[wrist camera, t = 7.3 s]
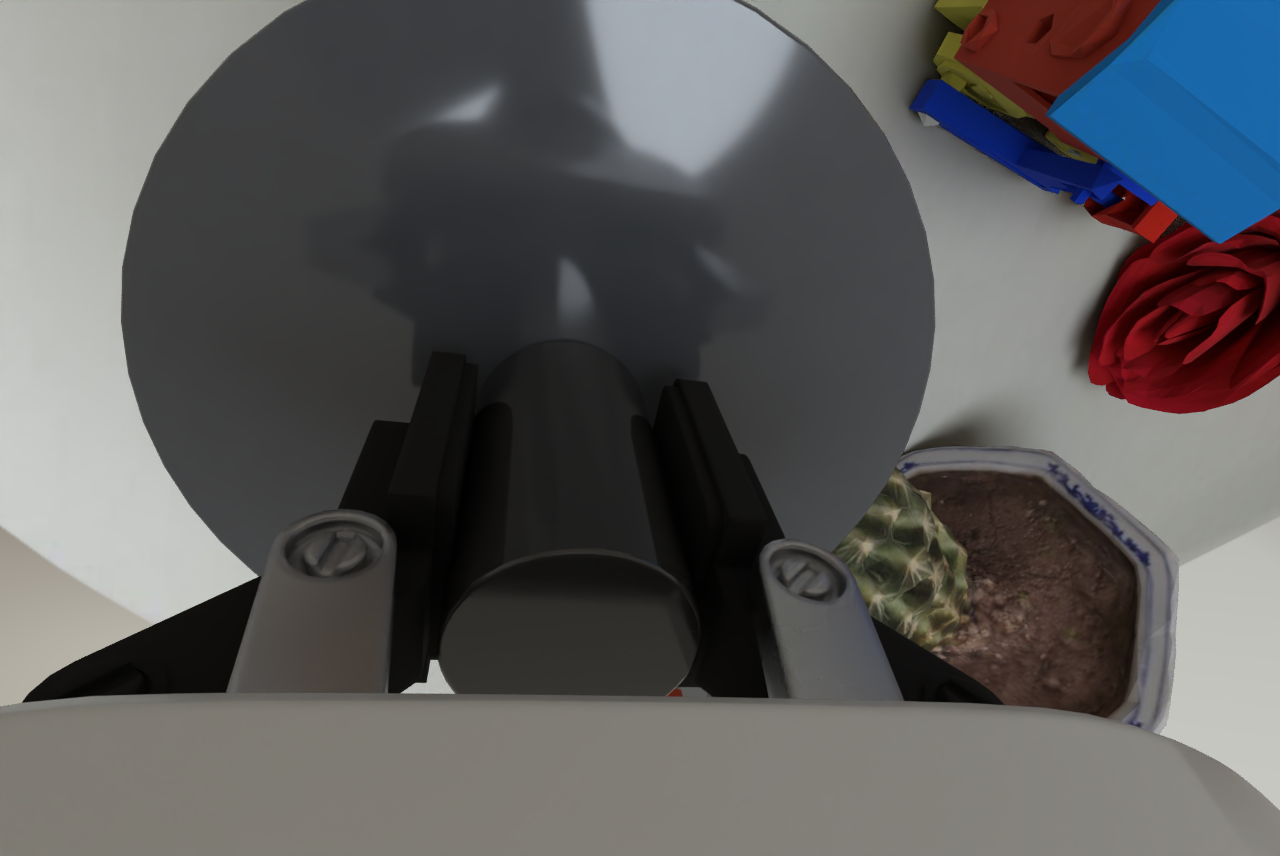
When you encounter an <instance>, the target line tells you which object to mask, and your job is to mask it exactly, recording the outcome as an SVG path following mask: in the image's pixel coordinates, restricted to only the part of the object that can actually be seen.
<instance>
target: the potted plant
mask: <svg viewBox="0 0 1280 856" xmlns="http://www.w3.org/2000/svg"><path fill="white" fill-rule="evenodd" d="M831 553H833V554H834V555H836V556H837V557H839V558H840V559H841V560H842V561H843V562H844V563H845V564H846V565H847V566H848V567H849V569H850V571H851V572H852V574H853V576H854V577H855V579H856V582H857V584H858V587H859V589H860V592H861V594H862V597H863V599H864V602H865V604H866V607H867V609H868V612H869V614H870V616H872V617H873V618H875V619H877V620H878V621H880V622H882V623H883V624H885V625H886V626H888V627H890V628H891V629H893V630H895V631H896V632H898V633H900V634H901V635H903V636H904V637H906V638H908V639H909V640H911V641H913V642H914V643H916V644H918V645H919V646H921V647H923V648H924V649H926V650H927V651H929V652H931V653H932V654H934V655H936V656H937V657H939V658H941V659H942V660H944V661H945V662H947V663H949V664H950V665H952V666H954V667H955V668H957V669H959V670H960V671H962V672H963V673H965V674H967V675H968V676H970V677H972V678H973V679H975V680H977V681H978V682H979V683H981V684H982V685H983V686H985V687H986V688H988V689H989V690H990V691H992V692H993V693H994V694H995V695H996V696H997V697H998V698H999V699H1000V700H1001V701H1002V702H1003V703H1004V704H1005V705H1008V706H1024V707H1041V708H1050V709H1057V710H1064V711H1071V712H1078V713H1085V714H1090V715H1094V716H1098V717H1102V718H1106V719H1110V720H1114V721H1119V722H1123V723H1127V724H1130V725H1134V726H1136V727H1139V728H1142V729H1145V730H1148V731H1150V732H1153V733H1156V734H1159V735H1160V733H1161V732H1162V730H1163V729H1164V727H1165V726H1166V723H1167V720H1168V715H1169V707H1170V700H1171V693H1172V686H1173V677H1174V668H1175V658H1176V620H1177V604H1178V590H1179V563H1178V558H1177V557H1176V555H1175V554H1174V553H1173V552H1172V550H1171V549H1170V548H1169V547H1168V546H1167V545H1166V544H1165V543H1164V542H1163V541H1162V540H1161V539H1160V538H1158V537H1157V536H1156V535H1155V534H1154V533H1153V532H1152V531H1150V530H1149V529H1148V528H1147V527H1146V526H1144V525H1143V524H1142V523H1141V522H1140V521H1138V520H1137V519H1136V518H1135V517H1134V516H1133V515H1131V514H1130V513H1129V512H1128V511H1126V510H1125V509H1124V508H1123V507H1121V506H1120V505H1119V504H1118V503H1116V502H1115V501H1114V500H1112V499H1111V498H1110V497H1108V496H1106V495H1105V494H1103V493H1102V492H1100V491H1099V490H1097V489H1095V488H1094V487H1093V486H1092V485H1091V483H1090V482H1089V481H1088V480H1087V479H1086V478H1085V477H1084V476H1083V475H1082V474H1081V473H1079V472H1078V471H1077V470H1076V469H1075V468H1074V467H1072V466H1071V465H1070V464H1068V463H1067V462H1066V461H1064V460H1063V459H1062V458H1060V457H1059V456H1057V455H1056V454H1055V453H1053V452H1051V451H1046V450H1037V449H1029V448H1021V447H1015V446H1001V447H969V446H953V447H936V448H929V449H923V450H917V451H912V452H910V453H908V454H905V455H903V456H902V457H901V458H900V459H899V461H898V463H897V465H896V467H895V469H894V470H893V472H892V474H891V476H890V478H889V480H888V482H887V483H886V485H885V487H884V488H883V490H882V491H881V493H880V494H879V495H878V497H877V498H876V500H875V501H874V502H873V504H872V505H871V507H870V508H869V510H868V511H867V512H866V514H865V515H864V517H863V518H862V519H861V520H860V522H859V523H858V524H857V525H856V526H855V527H854V528H853V530H852V531H851V532H850V533H849V534H848V535H847V536H846V538H845V539H844V540H843V541H842V542H841V543H840V544H839V545H838V547H837V548H836V549H835V550H834V551H832V552H831Z"/></svg>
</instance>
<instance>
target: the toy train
mask: <svg viewBox="0 0 1280 856" xmlns="http://www.w3.org/2000/svg"><path fill="white" fill-rule="evenodd" d="M934 8H935V9H937V10H938V11H939V12H940V13H942V14H943V15H944V16H945V17H947V18H948V19H949V20H950V21H952V22H953V23H954V24H955V25H957V26H958V27H959V28H961V29H962V30H963V31H965V32H964V34H963V35H961V34H957V33H952V32H948V34H947V36H946V37H945V39H944V41H943V43H942V45H941V47H940V48H939V50H938V52H937V54H936V56H935V58H934V59H933V62H934V63H935V64H936V65H937V67H938V68H937V70H938V72H939V73H940V75H941V76H942V78H941V80H927V81H926V83H925V85H924V86H923V88H922V89H921V91H920V92H919V94H918V95H917V97H916V98H915V100H914V101H913V103H912V105H911V106H910V109H912V110H914V111H915V112H917V113H918V114H919V116H920V118H921V121H922V123H923V126H938V125H939V126H941V127H943V128H944V129H946V130H947V131H949V132H951V133H952V134H954V135H955V136H957V137H959V138H960V139H962V140H964V141H965V142H967V143H968V144H970V145H972V146H973V147H975V148H976V149H978V150H980V151H981V152H983V153H984V154H986V155H988V156H989V157H991V158H993V159H994V160H996V161H997V162H999V163H1001V164H1002V165H1004V166H1005V167H1007V168H1009V169H1010V170H1012V171H1013V172H1015V173H1017V174H1018V175H1020V176H1022V177H1023V178H1025V179H1026V180H1028V181H1030V182H1031V183H1033V184H1034V185H1036V186H1038V187H1039V188H1041V189H1042V190H1045V191H1049V192H1052V193H1056V194H1058V193H1059V192H1060V190H1062V191H1066V192H1070V193H1073V195H1072V196H1071V197H1070V199H1071V200H1072V201H1073V202H1074V203H1076V204H1083V203H1084V202H1085V201H1086V202H1085V205H1084V207H1085V209H1086V210H1087V211H1088V212H1089V214H1090V215H1091V216H1092V217H1094V218H1095V219H1097V220H1098V221H1100V222H1101V223H1103V224H1107V225H1110V226H1114V227H1118V228H1121V229H1124V230H1127V231H1130V232H1133V233H1135V234H1138V235H1141V236H1143V237H1144V238H1146V239H1147V240H1148V241H1150V242H1152V243H1154V242H1155V241H1156V240H1157V239H1158V238H1159V236H1160V235H1161V234H1162V233H1163V232H1164V231H1165V230H1166V228H1167V227H1168V226H1169V225H1170V224H1171V223H1172V222H1173V221H1174V219H1175V218H1176V217H1177V216H1178V215H1179V216H1180V217H1181V218H1183V219H1184V220H1185V221H1187V222H1188V223H1189V224H1191V225H1192V226H1193V227H1195V228H1196V229H1197V230H1199V231H1200V232H1201V233H1203V234H1204V235H1205V236H1207V237H1208V238H1209V239H1211V240H1212V241H1213V242H1215V243H1218V244H1221V243H1223V242H1224V241H1226V240H1228V239H1229V238H1231V237H1233V236H1234V235H1236V234H1238V233H1240V232H1241V231H1243V230H1245V229H1246V228H1248V227H1250V226H1251V225H1253V224H1255V223H1256V222H1258V221H1260V220H1262V219H1263V218H1265V217H1267V216H1268V215H1270V214H1272V213H1273V212H1275V211H1277V210H1278V209H1280V0H938V2H937V3H936V5H935V6H934ZM962 93H963V94H965V95H967V96H969V97H970V98H972V99H974V100H976V101H977V102H979V103H981V104H983V105H984V106H986V107H988V108H989V109H992V110H995V111H998V112H1001V113H1003V114H1006V115H1009V116H1012V117H1015V118H1022V117H1030V118H1034V119H1036V120H1038V121H1039V122H1040V123H1042V124H1043V125H1044V126H1046V127H1047V128H1048V129H1049V130H1048V132H1047V133H1046V135H1045V136H1046V138H1047V139H1048V140H1049V141H1050V142H1051V143H1053V144H1054V145H1055V146H1056V147H1057V148H1058V149H1059V150H1060V151H1061V152H1063V153H1065V154H1066V155H1068V156H1070V157H1071V158H1067V157H1063V156H1060V155H1058V154H1056V153H1055V152H1053V151H1052V150H1050V149H1049V148H1047V147H1045V146H1044V145H1042V144H1041V143H1039V142H1037V141H1036V140H1034V139H1033V138H1031V137H1029V136H1028V135H1026V134H1025V133H1023V132H1021V131H1020V130H1018V129H1017V128H1015V127H1014V126H1012V125H1010V124H1009V123H1007V122H1006V121H1004V120H1002V119H1001V118H999V117H998V116H996V115H994V114H993V113H991V112H990V111H988V110H986V109H985V108H983V107H982V106H980V105H979V104H977V103H975V102H974V101H972V100H971V99H969V98H968V97H966V96H965V95H963V94H962ZM1072 158H1073V159H1072ZM1125 196H1126V197H1125ZM1123 197H1125V200H1124V199H1122V198H1123Z"/></svg>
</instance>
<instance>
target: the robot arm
mask: <svg viewBox="0 0 1280 856" xmlns="http://www.w3.org/2000/svg"><path fill="white" fill-rule="evenodd" d="M477 375H478V364H472V363H466V354H458V353H449V352H440V351H433V352H432V355H431V358H430V361H429V364H428V367H427V370H426V373H425V377H424V380H423V383H422V386H421V389H420V392H419V395H418V399H417V402H416V405H415V408H414V411H413V414H412V417H411V421H410V423H406V422H395V421H384V420H375V421H374V422H373V424H372V426H371V429H370V431H369V434H368V436H367V438H366V441H365V443H364V446H363V448H362V451H361V453H360V456H359V458H358V461H357V463H356V465H355V468H354V470H353V473H352V475H351V478H350V480H349V483H348V485H347V487H346V490H345V492H344V495H343V497H342V500H341V502H340V505H339V507H338V509H335V510H325V511H321V512H317V513H314V514H310V515H307V516H304V517H302V518H300V519H298V520H296V521H295V522H293V523H291V524H289V525H288V526H287V527H286V528H285V529H283V530H282V531H281V532H280V533H279V534H278V535H277V537H276V539H275V540H274V542H273V544H272V546H271V548H270V551H269V554H268V558H267V561H266V564H265V567H264V571H263V574H262V576H259V577H257V578H255V579H253V580H251V581H248V582H246V583H244V584H242V585H240V586H238V587H235V588H233V589H231V590H229V591H227V592H225V593H222V594H220V595H218V596H216V597H214V598H212V599H209V600H207V601H205V602H203V603H201V604H199V605H196V606H194V607H192V608H190V609H188V610H185V611H183V612H181V613H179V614H177V615H175V616H172V617H170V618H168V619H166V620H164V621H162V622H159V623H157V624H155V625H153V626H151V627H149V628H146V629H144V630H142V631H140V632H138V633H136V634H133V635H131V636H129V637H127V638H125V639H123V640H120V641H118V642H116V643H114V644H112V645H109V646H107V647H105V648H103V649H101V650H99V651H96V652H94V653H92V654H90V655H88V656H85V657H83V658H81V659H79V660H77V661H75V662H73V663H71V664H69V665H68V666H66V667H64V668H62V669H61V670H59V671H57V672H55V673H54V674H52V675H50V676H49V677H48V678H46V679H45V680H44V681H43V682H42V683H40V684H39V685H38V686H37V687H36V688H35V689H33V690H32V691H31V692H30V693H29V694H28V695H27V696H26V698H25V699H24V700H23V702H22V703H19V704H13V705H7V706H1V707H0V856H1280V810H1278V809H1277V808H1276V807H1275V806H1274V805H1273V804H1272V803H1271V802H1270V801H1269V800H1268V799H1267V798H1266V797H1265V796H1264V795H1263V794H1261V793H1260V792H1259V791H1258V790H1257V789H1256V788H1254V787H1253V786H1252V785H1251V784H1250V783H1248V782H1247V781H1246V780H1245V779H1244V778H1242V777H1241V776H1240V775H1239V774H1237V773H1236V772H1234V771H1233V770H1232V769H1230V768H1228V767H1227V766H1225V765H1224V764H1222V763H1221V762H1219V761H1217V760H1215V759H1213V758H1211V757H1209V756H1207V755H1205V754H1204V753H1202V752H1199V751H1197V750H1196V749H1193V748H1191V747H1189V746H1187V745H1185V744H1182V743H1180V742H1178V741H1176V740H1173V739H1170V738H1167V737H1165V736H1161V735H1159V734H1156V733H1153V732H1150V731H1148V730H1145V729H1142V728H1139V727H1136V726H1134V725H1130V724H1127V723H1123V722H1119V721H1114V720H1110V719H1106V718H1102V717H1098V716H1094V715H1090V714H1085V713H1078V712H1071V711H1064V710H1057V709H1050V708H1041V707H1024V706H1008V705H1005V704H1004V703H1003V702H1002V701H1001V700H1000V699H999V698H998V697H997V696H996V695H995V694H994V693H993V692H992V691H990V690H989V689H988V688H986V687H985V686H983V685H982V684H981V683H979V682H978V681H977V680H975V679H973V678H972V677H970V676H968V675H967V674H965V673H963V672H962V671H960V670H959V669H957V668H955V667H954V666H952V665H950V664H949V663H947V662H945V661H944V660H942V659H941V658H939V657H937V656H936V655H934V654H932V653H931V652H929V651H927V650H926V649H924V648H923V647H921V646H919V645H918V644H916V643H914V642H913V641H911V640H909V639H908V638H906V637H904V636H903V635H901V634H900V633H898V632H896V631H895V630H893V629H891V628H890V627H888V626H886V625H885V624H883V623H882V622H880V621H878V620H877V619H875V618H873V617H872V616H870V614H869V612H868V609H867V607H866V604H865V602H864V599H863V597H862V594H861V592H860V589H859V587H858V584H857V582H856V579H855V577H854V576H853V574H852V572H851V571H850V569H849V567H848V566H847V565H846V564H845V563H844V562H843V561H842V560H841V559H840V558H839V557H837V556H836V555H834V554H833V553H831V552H830V551H828V550H827V549H825V548H823V547H821V546H818V545H816V544H814V543H811V542H807V541H803V540H799V539H786V538H785V536H784V533H783V531H782V529H781V527H780V525H779V522H778V520H777V518H776V516H775V514H774V512H773V509H772V507H771V505H770V503H769V501H768V499H767V496H766V494H765V492H764V490H763V488H762V485H761V483H760V481H759V479H758V477H757V475H756V472H755V470H754V468H753V466H752V464H751V461H750V460H749V458H748V457H747V455H745V454H739V453H738V450H737V448H736V446H735V444H734V441H733V439H732V437H731V434H730V432H729V430H728V428H727V425H726V423H725V421H724V419H723V416H722V414H721V412H720V410H719V407H718V405H717V403H716V400H715V398H714V396H713V394H712V391H711V389H710V387H709V385H708V383H707V382H702V381H693V380H684V379H676V380H675V382H674V384H673V386H668V385H665V386H664V387H663V389H662V393H661V396H660V401H659V405H658V409H657V414H656V418H655V422H654V426H653V434H654V438H655V442H656V446H657V450H658V453H659V457H660V461H661V465H662V469H663V472H664V476H665V480H666V484H667V488H668V491H669V495H670V499H671V503H672V507H673V511H674V514H675V518H676V522H677V526H678V530H679V533H680V537H681V541H682V545H683V549H684V552H685V556H686V560H687V564H688V568H689V572H690V575H691V579H692V583H693V587H694V591H695V594H696V598H697V602H698V606H699V610H700V613H701V618H702V626H703V632H702V642H701V646H700V650H699V654H698V656H697V658H696V661H695V663H694V665H693V667H692V668H691V670H690V671H689V673H688V675H687V676H686V677H685V678H684V680H683V681H682V682H681V683H680V684H679V685H678V686H677V687H700V688H702V689H703V690H704V691H706V692H707V693H708V695H707V697H666V696H595V695H519V694H402V693H401V692H403V691H404V690H405V689H407V688H408V687H410V686H411V685H413V684H414V683H426V682H427V676H428V671H429V665H430V660H438V658H437V649H436V642H437V635H438V628H439V622H440V616H441V610H442V604H443V598H444V592H445V586H446V580H447V578H448V575H449V569H450V563H451V557H452V551H453V545H454V539H455V533H456V527H457V521H458V514H459V508H460V502H461V496H462V490H463V484H464V478H465V472H466V466H467V460H468V454H469V448H470V442H471V435H472V429H473V423H474V416H475V402H476V388H477Z"/></svg>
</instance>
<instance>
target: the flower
mask: <svg viewBox="0 0 1280 856" xmlns="http://www.w3.org/2000/svg"><path fill="white" fill-rule="evenodd" d="M1088 374H1089V378H1090V382H1091V383H1093V384H1095V385H1102V386H1103V385H1106V391H1107V392H1108V393H1109V395H1111V396H1114V397H1116V398H1119V399H1126V400H1127V401H1128V403H1130V404H1133V405H1136V406H1139V407H1142V408H1147V409H1152V410H1157V411H1162V412H1169V413H1177V414H1182V413H1193V412H1203V411H1206V410H1208V409H1213V408H1217V407H1220V406H1224V405H1228V404H1231V403H1234V402H1236V401H1238V400H1240V399H1243V398H1245V397H1247V396H1249V395H1250V394H1252V393H1254V392H1255V391H1257V390H1258V389H1260V388H1262V387H1263V386H1265V385H1266V384H1268V383H1269V382H1271V381H1272V380H1274V379H1275V378H1276V377H1278V376H1279V375H1280V209H1278V210H1277V211H1275V212H1273V213H1272V214H1270V215H1268V216H1267V217H1265V218H1263V219H1262V220H1260V221H1258V222H1256V223H1255V224H1253V225H1251V226H1250V227H1248V228H1246V229H1245V230H1243V231H1241V232H1240V233H1238V234H1236V235H1234V236H1233V237H1231V238H1229V239H1228V240H1226V241H1224V242H1223V243H1221V244H1218V243H1215V242H1213V241H1212V240H1211V239H1209V238H1208V237H1207V236H1205V235H1204V234H1203V233H1201V232H1200V231H1199V230H1197V229H1196V228H1195V227H1193V226H1192V225H1191V224H1189V223H1188V222H1186V223H1185V224H1183V225H1182V226H1181V227H1179V228H1178V229H1177V230H1175V231H1174V232H1173V233H1170V234H1168V235H1166V236H1164V237H1161V238H1159V239H1157V240H1156V241H1155V242H1154V243H1152V242H1150V243H1148V244H1145V245H1143V246H1141V247H1139V248H1138V249H1137V250H1136V251H1135V252H1134V253H1133V254H1132V255H1131V256H1129V257H1128V259H1127V260H1126V262H1125V263H1124V265H1123V267H1122V268H1121V270H1120V271H1119V274H1118V282H1117V284H1116V285H1115V287H1114V289H1113V290H1112V292H1111V294H1110V296H1109V298H1108V299H1107V302H1106V304H1105V307H1104V309H1103V311H1102V314H1101V316H1100V319H1099V322H1098V326H1097V329H1096V333H1095V337H1094V340H1093V344H1092V348H1091V351H1090V356H1089V368H1088Z"/></svg>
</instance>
